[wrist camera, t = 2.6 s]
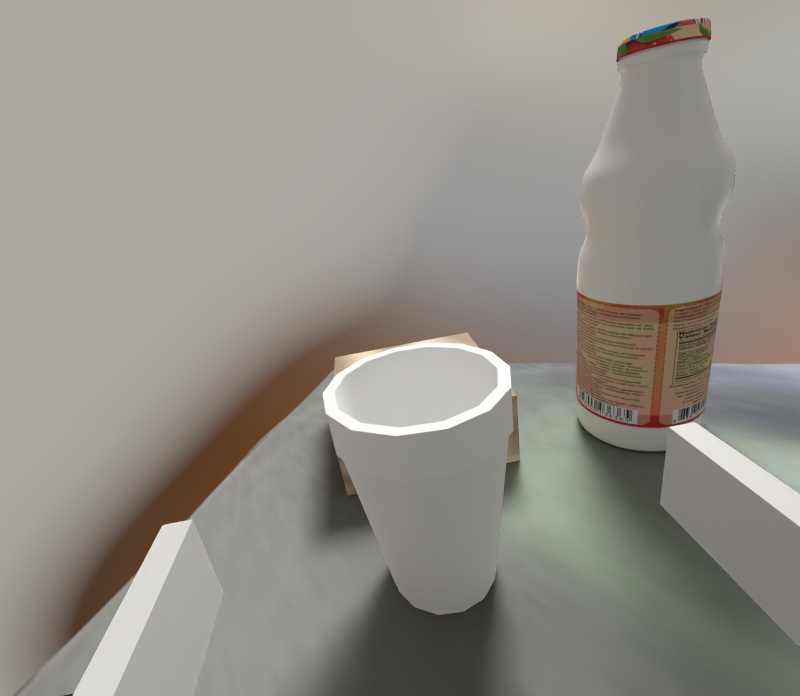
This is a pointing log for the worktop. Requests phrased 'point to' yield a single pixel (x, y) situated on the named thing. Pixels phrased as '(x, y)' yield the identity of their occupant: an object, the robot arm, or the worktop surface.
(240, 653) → the worktop surface
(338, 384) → the foam cup
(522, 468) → the worktop surface
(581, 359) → the fruit juice
